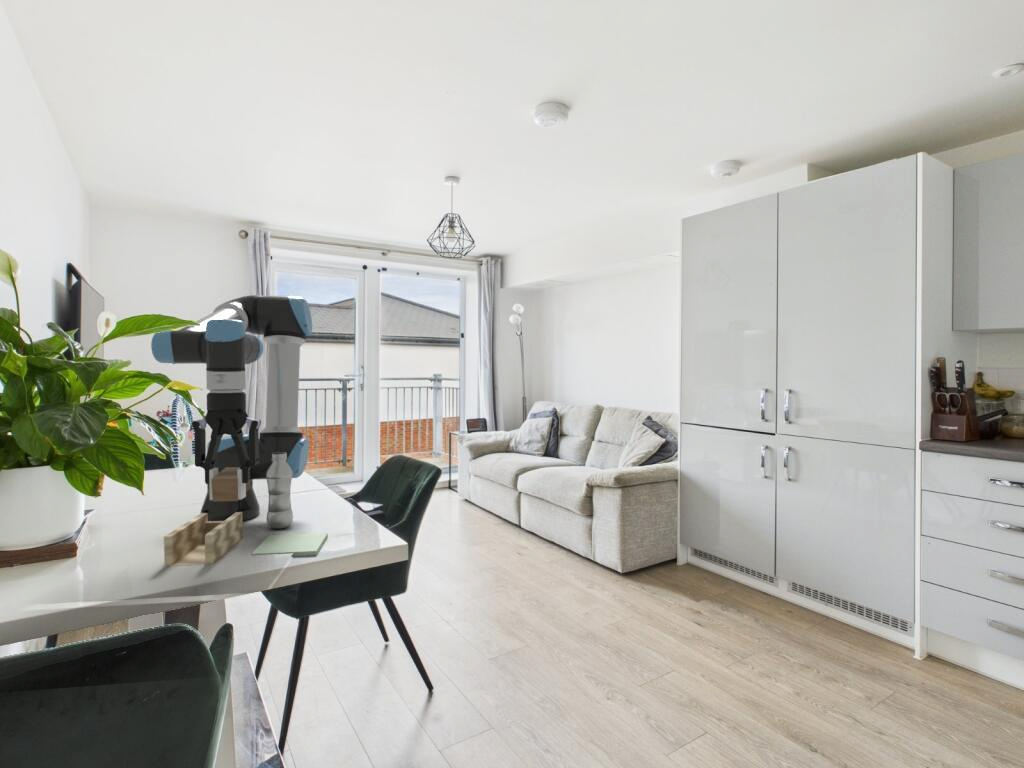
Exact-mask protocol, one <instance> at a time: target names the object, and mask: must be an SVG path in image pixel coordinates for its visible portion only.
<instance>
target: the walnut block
mask: <svg viewBox="0 0 1024 768" xmlns="http://www.w3.org/2000/svg"><path fill="white" fill-rule="evenodd" d="M238 469H240V467H226V468H225V469H223V470H222V471H221V472H220V473H218V474H217V475H216V476H215V477H214V478H212V479H211V482H212V496H213V502H215V501H238V480H237V470H238ZM249 489H250V481H249V482H248V483H246V492H247V491H248V490H249Z"/></svg>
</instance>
